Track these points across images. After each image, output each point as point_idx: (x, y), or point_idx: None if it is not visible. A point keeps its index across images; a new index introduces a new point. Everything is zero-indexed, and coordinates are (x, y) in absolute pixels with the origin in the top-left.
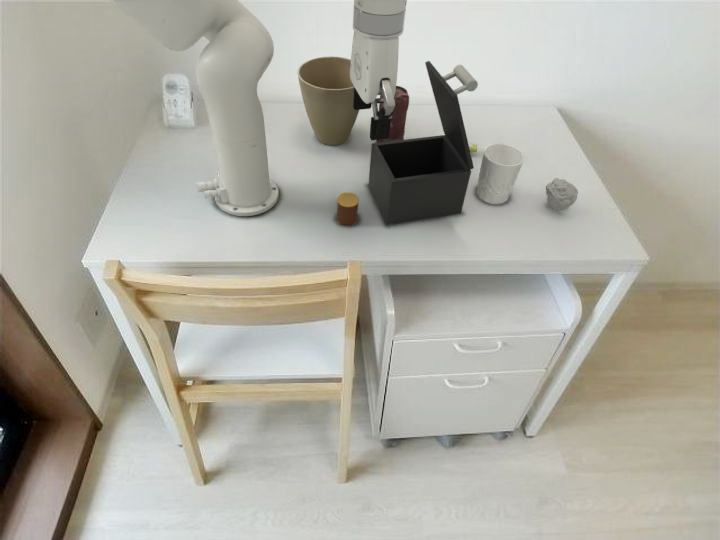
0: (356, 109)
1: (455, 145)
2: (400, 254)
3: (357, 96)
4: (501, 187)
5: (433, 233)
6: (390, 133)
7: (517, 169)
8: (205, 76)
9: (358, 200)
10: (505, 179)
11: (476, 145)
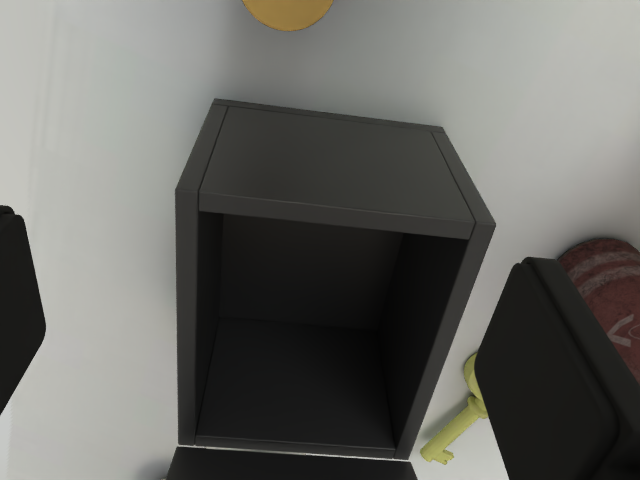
0: (511, 272)
1: (293, 471)
2: (55, 77)
3: (563, 373)
4: (207, 447)
5: (140, 216)
6: (595, 311)
7: None
8: None
9: (262, 22)
10: None
11: (441, 461)
